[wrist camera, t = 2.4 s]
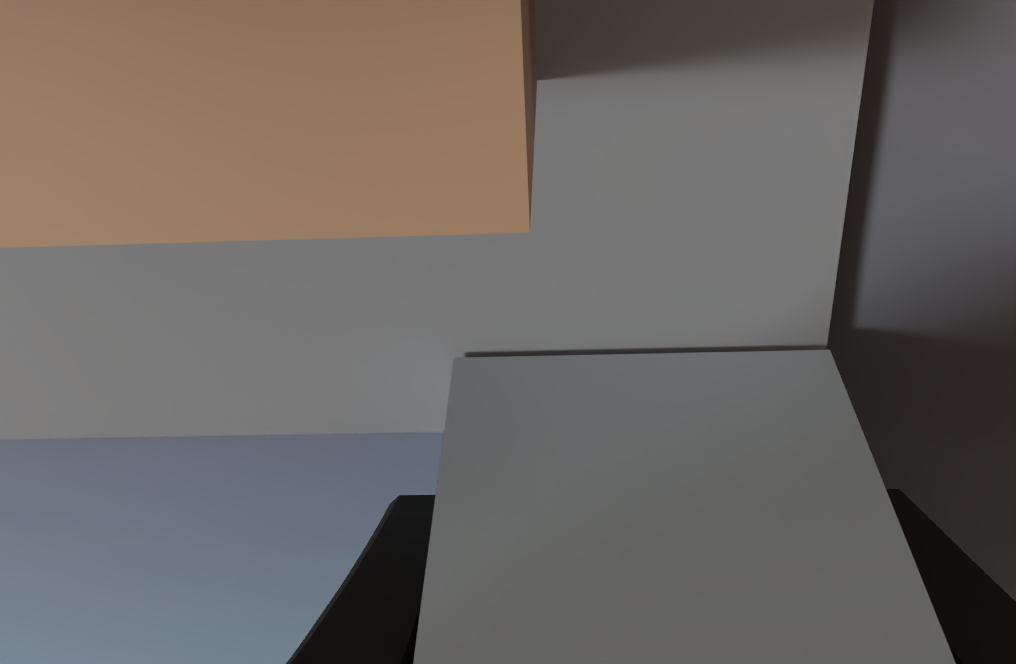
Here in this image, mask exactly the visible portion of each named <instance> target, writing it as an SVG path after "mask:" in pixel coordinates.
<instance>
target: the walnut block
mask: <svg viewBox="0 0 1016 664" xmlns="http://www.w3.org/2000/svg"><path fill="white" fill-rule="evenodd" d="M536 96H537V58H536V28H535V0H0V248H13V247H48V246H83V245H118V244H152V243H187V242H222V241H257V240H292V239H327V238H362V237H397V236H432V235H467V234H502V233H530V221H531V200H532V180H533V159H534V138H535V117H536Z"/></svg>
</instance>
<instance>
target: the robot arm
mask: <svg viewBox="0 0 1016 664" xmlns="http://www.w3.org/2000/svg"><path fill="white" fill-rule="evenodd" d="M886 491H887V493H888V496H889V498H890V501H891V503H892V506H893V508H894V511H895V513H896V516H897V518H898V521H899V523H900V526H901V528H902V531H903V533H904V536H905V538H906V541H907V543H908V546H909V548H910V551H911V553H912V556H913V558H914V561H915V563H916V566H917V568H918V571H919V573H920V576H921V578H922V581H923V583H924V586H925V588H926V591H927V593H928V596H929V598H930V601H931V603H932V605H933V608H934V610H935V613H936V615H937V618H938V620H939V623H940V625H941V628H942V630H943V633H944V635H945V638H946V640H947V643H948V645H949V648H950V650H951V653H952V655H953V658H954V660H955V663H956V664H1016V602H1015V601H1014V600H1013V599H1012V598H1011V597H1010V596H1009V595H1008V594H1007V593H1006V592H1005V591H1004V590H1003V589H1002V588H1000V587H999V586H998V585H997V584H996V583H995V582H994V581H993V580H992V579H991V578H990V577H989V576H988V575H987V574H986V573H985V572H984V571H983V570H982V569H981V568H980V567H979V566H978V565H977V564H976V563H975V562H973V561H972V560H971V559H970V558H969V557H968V556H967V555H966V554H965V553H964V552H963V551H962V550H961V549H960V548H959V547H958V546H957V545H956V544H955V543H954V542H953V541H952V540H951V539H950V538H949V537H948V536H947V535H946V534H945V533H944V532H943V531H942V530H941V529H940V528H939V527H938V526H937V525H936V524H935V523H934V522H933V521H932V520H931V519H929V518H928V517H927V516H926V515H925V514H924V513H923V512H922V511H921V510H920V509H919V508H918V507H917V506H916V505H915V504H914V503H913V502H912V501H911V500H910V499H909V498H908V497H907V496H906V495H905V494H904V493H903V492H902V491H901V490H900V489H886ZM435 496H436V495H399V496H398V497H397V498H396V499H395V500H394V501H393V502H392V503H390V505H389V507H388V509H387V510H386V512H385V514H384V516H383V518H382V519H381V521H380V523H379V525H378V526H377V528H376V530H375V532H374V533H373V535H372V537H371V538H370V540H369V542H368V544H367V545H366V547H365V548H364V550H363V552H362V553H361V555H360V557H359V558H358V560H357V561H356V563H355V565H354V566H353V568H352V569H351V571H350V572H349V574H348V575H347V577H346V579H345V580H344V582H343V583H342V585H341V586H340V588H339V589H338V591H337V592H336V594H335V595H334V597H333V598H332V600H331V601H330V603H329V604H328V605H327V607H326V608H325V610H324V611H323V613H322V614H321V616H320V617H319V618H318V620H317V621H316V623H315V624H314V626H313V627H312V629H311V630H310V631H309V633H308V634H307V636H306V637H305V639H304V640H303V642H302V643H301V644H300V646H299V647H298V648H297V650H296V651H295V653H294V654H293V655H292V657H291V658H290V659H289V661H288V662H287V663H286V664H413V661H414V653H415V646H416V638H417V631H418V623H419V616H420V608H421V601H422V593H423V586H424V578H425V571H426V563H427V556H428V548H429V541H430V533H431V526H432V518H433V511H434V503H435Z"/></svg>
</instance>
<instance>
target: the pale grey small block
mask: <svg viewBox="0 0 1016 664" xmlns="http://www.w3.org/2000/svg"><path fill="white" fill-rule="evenodd" d="M413 664H956V663H955V660H954V658H953V655H952V653H951V650H950V648H949V645H948V643H947V640H946V638H945V635H944V633H943V630H942V628H941V625H940V623H939V620H938V618H937V615H936V613H935V610H934V608H933V605H932V603H931V601H930V598H929V596H928V593H927V591H926V588H925V586H924V583H923V581H922V578H921V576H920V573H919V571H918V568H917V566H916V563H915V561H914V558H913V556H912V553H911V551H910V548H909V546H908V543H907V541H906V538H905V536H904V533H903V531H902V528H901V526H900V523H899V521H898V518H897V516H896V513H895V511H894V508H893V506H892V503H891V501H890V498H889V496H888V493H887V491H886V488H885V486H884V483H883V481H882V478H881V476H880V473H879V471H878V468H877V466H876V463H875V461H874V459H873V456H872V454H871V451H870V449H869V446H868V444H867V441H866V439H865V436H864V434H863V431H862V429H861V426H860V424H859V421H858V419H857V416H856V414H855V411H854V409H853V406H852V404H851V401H850V399H849V396H848V394H847V391H846V389H845V386H844V384H843V381H842V379H841V376H840V374H839V371H838V369H837V366H836V364H835V361H834V359H833V356H832V354H831V351H830V350H796V351H749V352H701V353H653V354H606V355H558V356H510V357H463V358H454V360H453V368H452V375H451V383H450V390H449V398H448V405H447V413H446V420H445V428H444V435H443V443H442V450H441V458H440V465H439V473H438V480H437V488H436V496H435V503H434V511H433V518H432V526H431V533H430V541H429V548H428V556H427V563H426V571H425V578H424V586H423V593H422V601H421V608H420V616H419V623H418V631H417V638H416V646H415V653H414V661H413Z"/></svg>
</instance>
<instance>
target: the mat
mask: <svg viewBox="0 0 1016 664" xmlns="http://www.w3.org/2000/svg"><path fill="white" fill-rule="evenodd" d="M873 6H874V0H535V28H536V58H537V96H536V117H535V138H534V159H533V180H532V200H531V221H530V233H502V234H467V235H432V236H397V237H362V238H327V239H292V240H257V241H222V242H187V243H152V244H118V245H83V246H48V247H13V248H0V439H53V438H114V437H175V436H236V435H297V434H357V433H418V432H444V428H445V420H446V413H447V405H448V398H449V390H450V383H451V375H452V368H453V360H454V358H463V357H510V356H558V355H606V354H653V353H701V352H749V351H796V350H826V349H827V342H828V335H829V327H830V320H831V313H832V306H833V298H834V291H835V284H836V276H837V269H838V262H839V254H840V247H841V240H842V232H843V225H844V218H845V210H846V203H847V196H848V189H849V181H850V174H851V167H852V159H853V152H854V145H855V137H856V130H857V123H858V115H859V108H860V101H861V93H862V86H863V79H864V72H865V64H866V57H867V50H868V42H869V35H870V28H871V20H872V13H873Z"/></svg>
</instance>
